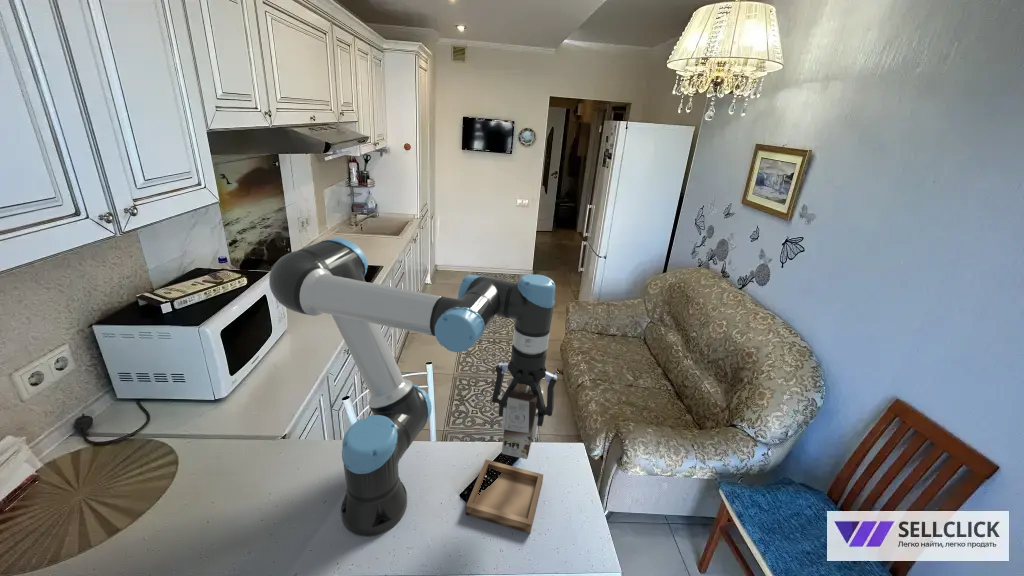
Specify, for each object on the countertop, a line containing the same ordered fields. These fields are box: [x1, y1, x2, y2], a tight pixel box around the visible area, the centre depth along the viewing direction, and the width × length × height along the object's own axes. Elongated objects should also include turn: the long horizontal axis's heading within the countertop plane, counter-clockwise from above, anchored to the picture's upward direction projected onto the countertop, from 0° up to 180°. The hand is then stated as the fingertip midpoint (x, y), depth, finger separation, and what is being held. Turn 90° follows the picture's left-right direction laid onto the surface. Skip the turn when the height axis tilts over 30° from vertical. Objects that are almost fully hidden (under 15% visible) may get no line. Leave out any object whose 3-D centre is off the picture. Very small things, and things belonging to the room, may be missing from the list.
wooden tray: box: [465, 459, 544, 534], centre depth 103 cm, size 16×15×3 cm
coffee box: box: [501, 379, 542, 460], centre depth 94 cm, size 9×6×16 cm
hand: (519, 430), depth 95 cm, fingers closed on coffee box, 7 cm apart
